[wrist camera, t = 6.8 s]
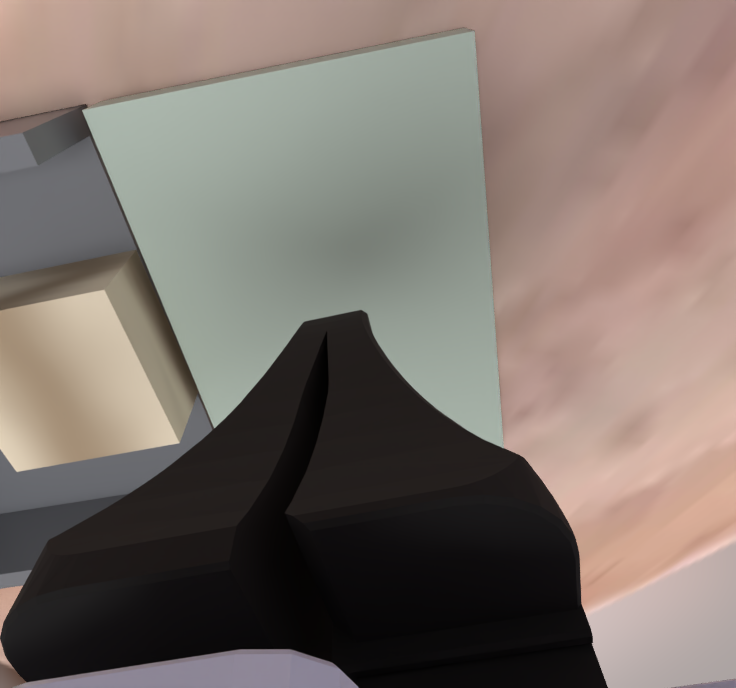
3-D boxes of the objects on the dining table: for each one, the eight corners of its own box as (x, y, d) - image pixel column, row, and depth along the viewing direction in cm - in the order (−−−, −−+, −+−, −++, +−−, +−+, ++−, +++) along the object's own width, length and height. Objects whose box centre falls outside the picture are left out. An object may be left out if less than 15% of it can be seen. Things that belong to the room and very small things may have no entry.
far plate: (464, 27, 17) (474, 30, 15) (496, 440, 25) (504, 464, 24) (101, 101, 17) (82, 110, 16) (250, 478, 26) (246, 504, 24)
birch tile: (136, 249, 19) (104, 289, 17) (198, 391, 22) (179, 443, 20) (-31, 283, 20) (-87, 327, 17) (53, 417, 23) (16, 471, 20)
